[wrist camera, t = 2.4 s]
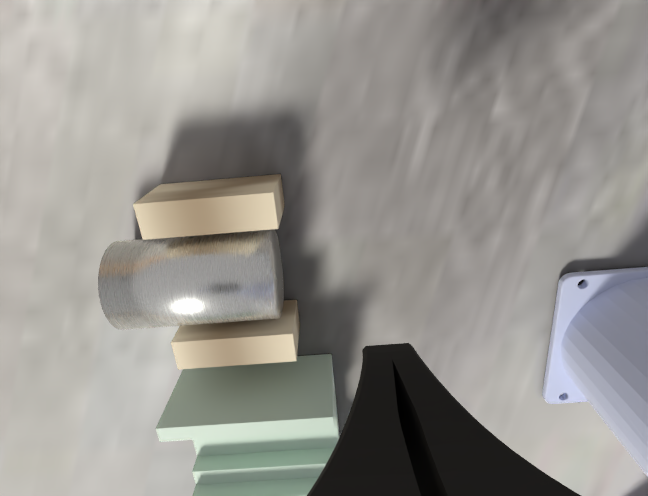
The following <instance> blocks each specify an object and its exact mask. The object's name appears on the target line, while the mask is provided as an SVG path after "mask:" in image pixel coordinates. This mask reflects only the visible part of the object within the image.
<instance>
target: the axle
mask: <svg viewBox="0 0 648 496" xmlns="http://www.w3.org/2000/svg"><path fill="white" fill-rule="evenodd" d="M98 290H99V297H100V302H101V306H102V309H103V312H104V314H105V316H106V318H107V319H108V321H109V322H110V323H111V325H112V326H114V327H115V328H117V329H120V330H128V329H142V328H155V327H169V326H183V325H197V324H210V323H224V322H238V321H252V320H265V319H279V318H281V316H282V311H283V300H284V283H283V267H282V260H281V253H280V245H279V240H278V237H277V233H276V231H275V230H274V229H270V230H258V231H246V232H233V233H221V234H209V235H196V236H184V237H172V238H159V239H147V240H143V239H137V240H125V241H116V242H114V243H112V244H111V245H110V246H109V247H108V248H107V249H106V251H105V253H104V255H103V257H102V260H101V264H100V268H99V276H98Z"/></svg>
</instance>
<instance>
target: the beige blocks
mask: <svg viewBox="0 0 648 496" xmlns="http://www.w3.org/2000/svg"><path fill="white" fill-rule="evenodd" d="M133 206H134V210H135V213H136V217H137V221H138V224H139V228H140V231H141V235H142V239H143V240H147V239H159V238H172V237H184V236H196V235H209V234H221V233H233V232H246V231H258V230H270V229H278V228H279V225H280V221H281V218H282V214H283V210H284V207H285V204H284V196H283V189H282V181H281V174H275V175H263V176H251V177H240V178H228V179H216V180H204V181H193V182H181V183H169V184H160V185H159V186H157V187H156V188H154V189H153V190H152V191H150V192H149V193H148V194H146V195H145V196H144V197H142V198H141V199H139V200H138V201H137V202H135V203H134V204H133ZM299 329H300V321H299V314H298V306H297V300H285V301H283V311H282V316H281V318H279V319H265V320H252V321H238V322H224V323H210V324H197V325H183V326H180V327H179V329H178V331H177V332H176V334H175V336H174V338H173V340H172V342H171V345H172V348H173V352H174V356H175V359H176V363H177V367H178V369H193V368H207V367H221V366H235V365H250V364H264V363H278V362H292V361H297V350H298V340H299Z"/></svg>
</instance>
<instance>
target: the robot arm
mask: <svg viewBox="0 0 648 496" xmlns="http://www.w3.org/2000/svg"><path fill="white" fill-rule="evenodd" d="M581 280H584V282H583V283H582V284H581V285H578V283H579V282H580V281H581ZM562 393H564V394H562ZM561 394H562V395H561ZM542 395H543V398H544V399H545V400H546V402H548V403H550V404H557V403H572V402H587V401H588V402H589V403H590V404H591V405H592V407H593V408H594V409H595V411H596V412H597V413H598V414H599V416H600V417H601V418H602V419H603V421H604V422H605V423H606V425H607V426H608V427H609V428H610V430H611V431H612V432H613V434H614V435H615V436H616V437H617V439H618V440H619V441H620V442H621V444H622V445H623V446H624V448H625V449H626V450H627V451H628V453H629V454H630V455H631V457H632V458H633V459H634V460H635V462H636V463H637V464H638V465H639V467H640V468H641V469H642V471H643V472H644V473H645V474H646V476H647V477H648V267H639V268H626V269H612V270H599V271H586V272H573V273H567V274H565V275H563V276H562V277H561V278H560V280H559V283H558V290H557V297H556V304H555V310H554V317H553V324H552V331H551V338H550V344H549V351H548V358H547V365H546V372H545V378H544V385H543V392H542ZM307 496H581V495H579V494H577V493H575V492H574V491H572V490H570V489H569V488H567V487H566V486H564V485H562V484H561V483H559V482H558V481H556V480H554V479H553V478H551V477H550V476H548V475H547V474H545V473H544V472H542V471H541V470H539V469H538V468H536V467H535V466H534V465H532V464H531V463H529V462H528V461H527V460H525V459H524V458H522V457H521V456H520V455H518V454H517V453H515V452H514V451H513V450H511V449H510V448H509V447H508V446H506V445H505V444H504V443H503V442H501V441H500V440H499V439H498V438H496V437H495V436H494V435H493V434H492V433H491V432H489V431H488V430H487V429H486V428H485V427H484V426H482V425H481V424H480V423H479V422H478V421H477V420H476V419H475V418H474V417H473V416H472V415H471V414H470V413H469V412H468V411H467V410H466V409H465V408H464V407H463V406H462V405H461V404H460V403H459V402H458V401H457V400H456V399H455V398H454V397H453V396H452V395H451V394H450V393H449V392H448V391H447V389H446V388H445V387H444V386H443V385H442V384H441V383H440V382H439V380H438V379H437V378H436V377H435V376H434V375H433V373H432V372H431V371H430V370H429V368H428V367H427V366H426V365H425V363H424V362H423V361H422V359H421V358H420V357H419V355H418V354H417V352H416V351H415V350H414V348H413V347H412V346H411V345H410V344H409V343H403V344H389V345H375V346H366V347H365V348H364V349H363V364H362V370H361V376H360V380H359V384H358V388H357V392H356V395H355V399H354V402H353V405H352V407H351V410H350V413H349V416H348V419H347V421H346V424H345V426H344V429H343V431H342V433H341V436H340V438H339V440H338V442H337V444H336V446H335V448H334V450H333V452H332V454H331V456H330V458H329V460H328V462H327V463H326V465H325V467H324V469H323V471H322V472H321V474H320V476H319V477H318V479H317V481H316V482H315V484H314V485H313V487H312V488H311V490H310V491H309V493H308V494H307Z"/></svg>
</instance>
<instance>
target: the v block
mask: <svg viewBox="0 0 648 496" xmlns="http://www.w3.org/2000/svg"><path fill="white" fill-rule="evenodd" d="M156 431H157V434H158V437H159V440H160V442H165V441H180V440H193V443H194V446H195V450H196V453H197V459H196V462H195V465H194V468H193V471H192V473H193V476H194V480H195V483H196V486H195V490H194V493H193V496H307V494H308V493H309V491H310V490H311V488H312V487H313V485H314V484H315V482H316V481H317V479H318V477H319V476H320V474H321V472H322V471H323V469H324V467H325V465H326V463H327V462H328V460H329V458H330V456H331V454H332V452H333V450H334V448H335V446H336V444H337V442H338V440H339V438H340V436H339V426H338V416H337V405H336V395H335V385H334V374H333V364H332V354H322V355H308V356H297V361H292V362H278V363H264V364H250V365H235V366H221V367H207V368H193V369H183V371H182V373H181V375H180V377H179V379H178V381H177V384H176V386H175V388H174V390H173V392H172V394H171V397H170V399H169V401H168V403H167V405H166V407H165V410H164V412H163V414H162V416H161V418H160V420H159V423H158V425H157V427H156Z"/></svg>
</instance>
